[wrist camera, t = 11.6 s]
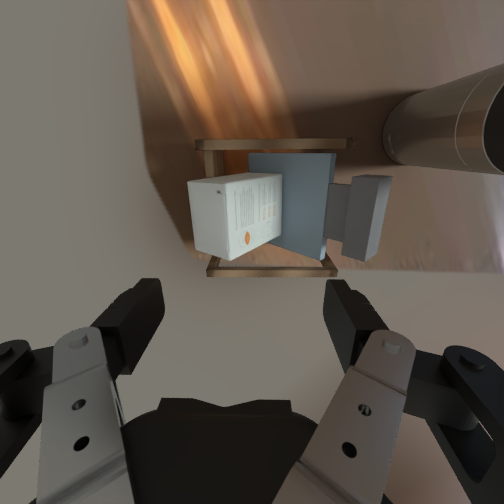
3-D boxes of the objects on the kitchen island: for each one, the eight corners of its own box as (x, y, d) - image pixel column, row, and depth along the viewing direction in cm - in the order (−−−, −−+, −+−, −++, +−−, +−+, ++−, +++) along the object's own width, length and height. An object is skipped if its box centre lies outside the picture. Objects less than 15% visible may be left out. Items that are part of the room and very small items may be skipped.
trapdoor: (397, 153, 23) (384, 154, 21) (373, 270, 27) (361, 279, 25) (258, 152, 35) (242, 153, 33) (258, 233, 39) (244, 238, 37)
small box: (248, 171, 33) (185, 178, 26) (284, 173, 30) (224, 181, 22) (249, 229, 36) (193, 250, 29) (282, 235, 33) (229, 262, 25)
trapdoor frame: (320, 142, 36) (356, 138, 23) (312, 237, 42) (336, 277, 29) (216, 143, 36) (194, 139, 23) (222, 237, 42) (206, 276, 29)
